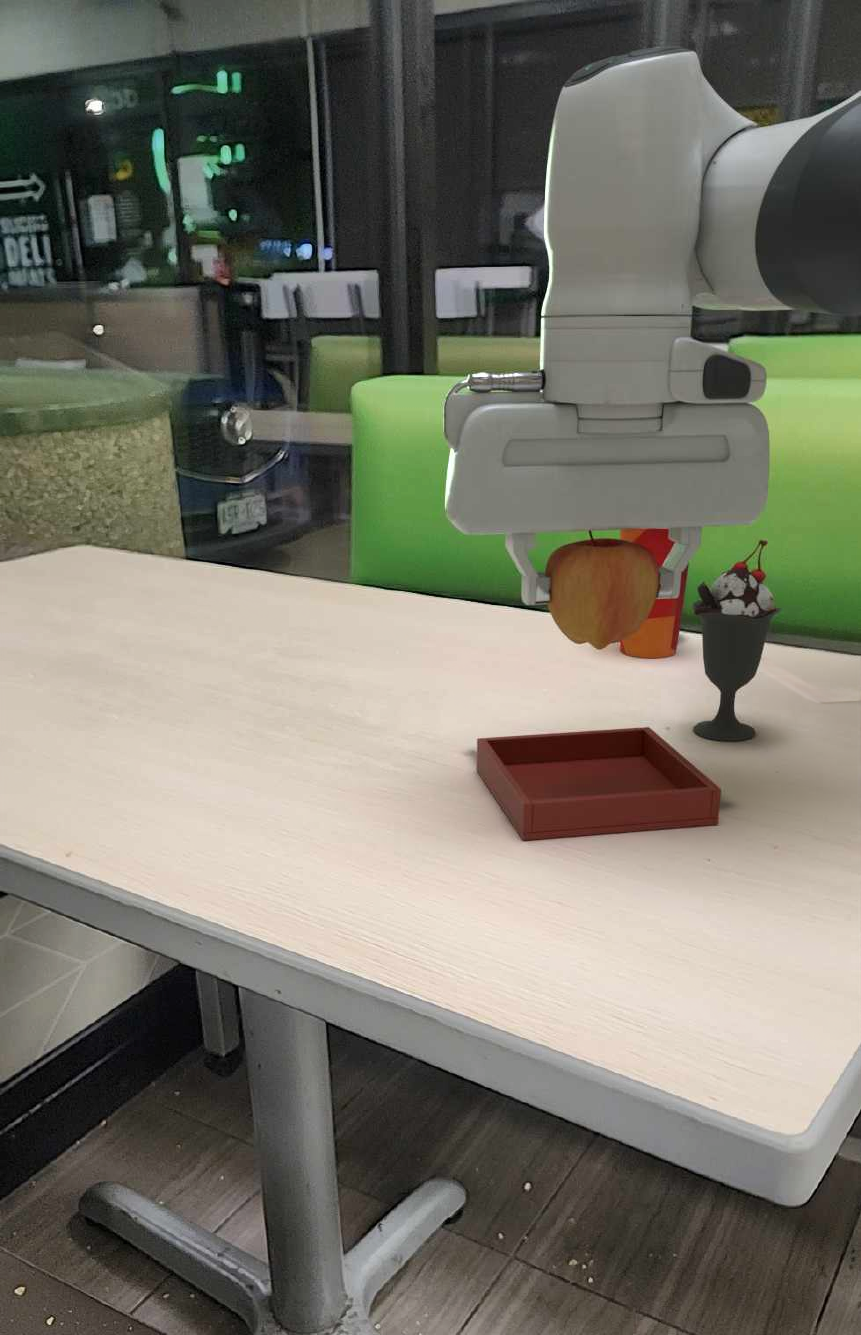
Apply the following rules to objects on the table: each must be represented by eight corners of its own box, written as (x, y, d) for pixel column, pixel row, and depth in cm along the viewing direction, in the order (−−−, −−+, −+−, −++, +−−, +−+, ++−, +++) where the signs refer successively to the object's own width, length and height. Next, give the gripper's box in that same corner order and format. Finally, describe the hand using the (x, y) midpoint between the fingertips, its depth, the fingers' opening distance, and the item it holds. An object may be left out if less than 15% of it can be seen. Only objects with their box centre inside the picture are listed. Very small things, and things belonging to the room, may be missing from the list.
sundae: (776, 726, 95) (799, 538, 89) (752, 750, 90) (774, 552, 84) (698, 714, 98) (714, 532, 92) (670, 736, 93) (686, 544, 87)
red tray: (646, 758, 88) (649, 726, 87) (718, 824, 76) (721, 789, 75) (476, 770, 86) (476, 738, 85) (522, 840, 74) (523, 804, 73)
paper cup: (644, 638, 122) (653, 500, 117) (702, 652, 117) (715, 508, 111) (592, 650, 118) (600, 507, 112) (651, 665, 112) (662, 516, 107)
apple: (603, 666, 72) (611, 533, 69) (518, 644, 77) (521, 520, 74) (677, 646, 76) (687, 521, 73) (592, 627, 82) (597, 509, 78)
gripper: (454, 374, 65) (453, 618, 71) (793, 369, 69) (767, 603, 74) (433, 370, 71) (434, 597, 77) (747, 367, 74) (726, 584, 80)
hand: (600, 600), depth 76 cm, fingers closed on apple, 7 cm apart
